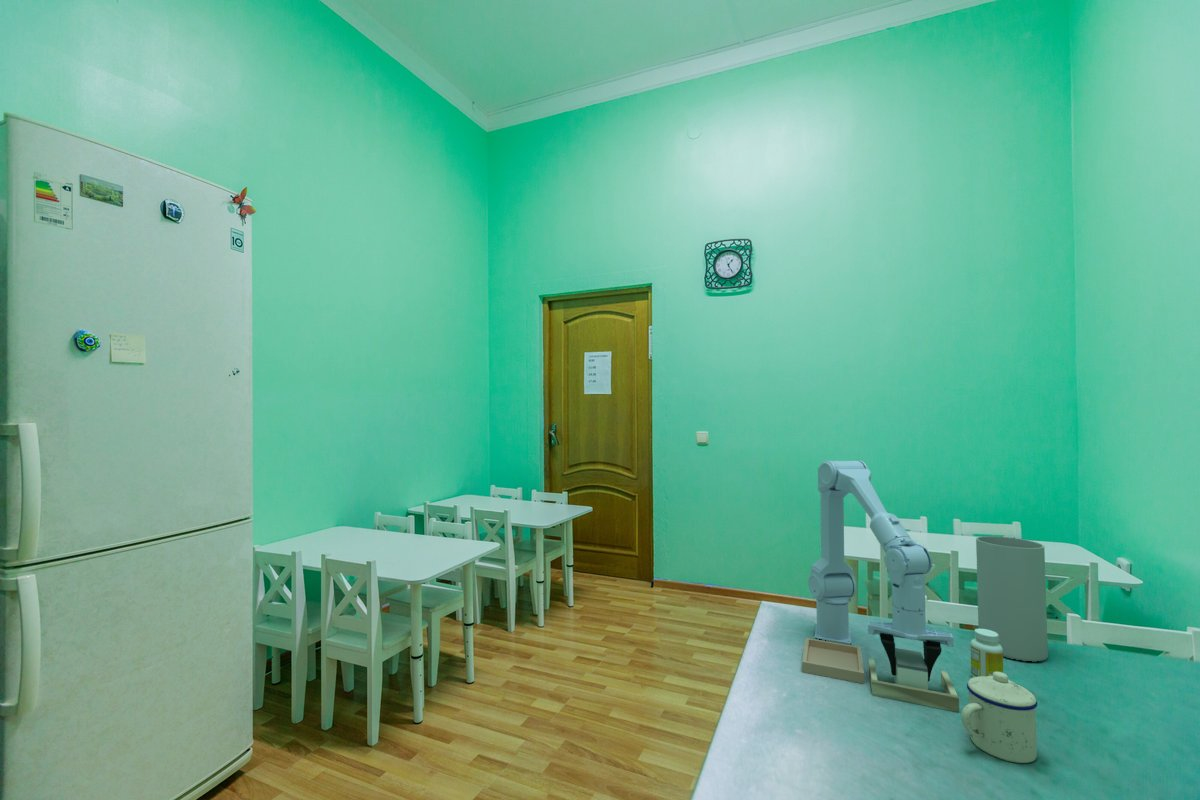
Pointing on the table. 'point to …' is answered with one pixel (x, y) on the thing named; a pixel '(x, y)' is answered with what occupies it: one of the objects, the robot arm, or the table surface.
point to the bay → (916, 692)
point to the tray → (833, 660)
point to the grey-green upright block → (910, 669)
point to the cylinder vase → (1013, 595)
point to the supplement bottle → (986, 653)
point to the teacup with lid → (1001, 718)
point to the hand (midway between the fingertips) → (909, 676)
